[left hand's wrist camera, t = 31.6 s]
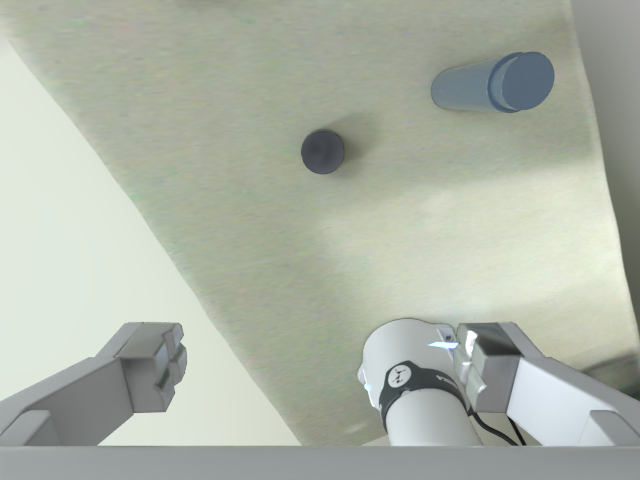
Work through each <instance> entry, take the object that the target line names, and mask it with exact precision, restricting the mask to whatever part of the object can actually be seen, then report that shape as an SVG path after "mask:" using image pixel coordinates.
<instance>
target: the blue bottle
mask: <svg viewBox="0 0 640 480" xmlns="http://www.w3.org/2000/svg"><path fill="white" fill-rule="evenodd" d="M553 83H554V69H553V66H552V64H551V62H550V60H549V59H548V58H547V57H546V56H545V55H543V54H541V53H538V52H526V53H522V52H517V53H512V54H508V55H504V56H500V57H496V58H492V59H488V60H484V61H480V62H476V63H472V64H468V65H464V66H460V67H456V68H452V69H448V70H445V71H443V72H441V73H440V74H439V75H438V76H437V77H436V78H435V80H434V82H433V84H432V88H431V96H432V99H433V101H434V103H435V104H436V105H437V106H438V107H440V108H443V109H451V110H467V111H483V112H499V113H514V112H518V111H521V110H528V109H531V108H534V107H536V106H537V105H539V104H540V103H541V102H542V101H544V100H545V98H546V97H547V96H548V94H549V93H550V91H551V89H552V86H553Z"/></svg>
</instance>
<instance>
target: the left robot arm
mask: <svg viewBox="0 0 640 480" xmlns="http://www.w3.org/2000/svg"><path fill="white" fill-rule="evenodd" d="M183 336H184V334H183V329H182V325H181V324H179V323H161V322H128V323H125V324H124V325H123V326H122V327H121V328H120V329H119V330H118V331H117V332H116V334H115V335H114V336H113V337H112V338H111V339H110V340H109V341H108V343H107V344H106V345H105V346H104V347H103V348H102V349H101V350H100V352H99V353H98V354H97V355H96V356H95V357H91V358H87V359H85V360H83V361H81V362H79V363H77V364H75V365H72V366H70V367H68V368H67V369H64V370H62V371H60V372H58V373H56V374H54V375H52V376H50V377H48V378H46V379H44V380H42V381H40V382H38V383H36V384H34V385H32V386H30V387H28V388H26V389H24V390H22V391H20V392H18V393H16V394H14V395H12V396H10V397H8V398H6V399H4V400H2V401H0V480H640V401H638V400H636V399H634V398H632V397H630V396H628V395H626V394H624V393H622V392H620V391H618V390H616V389H614V388H612V387H610V386H608V385H606V384H604V383H602V382H600V381H598V380H596V379H594V378H592V377H590V376H588V375H586V374H584V373H582V372H580V371H578V370H575V369H573V368H571V367H569V366H567V365H565V364H563V363H561V362H559V361H557V360H555V359H553V358H551V357H545V356H544V355H543V354H542V353H541V352H540V350H539V349H538V348H537V347H536V346H535V345H534V344H533V343H532V341H531V340H530V339H529V338H528V337H527V336H526V335H525V334H524V332H523V331H522V330H521V329H520V328H519V327H518V326H517V325H516V324H515V323H513V322H494V323H460V324H459V326H458V328H457V334H456V336H457V338H458V339H459V341H460V343H458V342H457V339H456V337H455V334H454V331H453V329H452V327H451V326H450V325H448V324H430V323H427V322H424V321H420V320H416V319H399V320H395V321H391V322H389V323H386V324H384V325H382V326H381V327H379V328H378V329H376V330H375V331H374V332H373V333H372V334H371V335H370V337H369V338H368V339H367V341H366V343H365V346H364V349H363V362H362V365H361V367H360V368H359V370H358V373H357V376H358V379H359V381H360V382H361V383H362V384H364V385H365V389H366V390H368V393H369V397H370V401H371V404H372V406H373V407H376V408H377V409H378V410H379V411H380V416H381V420H382V423H383V426H384V428H385V431H386V432H387V434H388V436H389V441H390V446H97V445H98V444H99V443H100V442H102V441H103V440H104V439H105V438H106V437H108V436H109V435H110V434H111V433H112V432H113V431H115V430H116V429H117V428H118V427H119V426H121V425H122V424H123V423H124V422H125V421H127V420H128V419H129V418H130V417H131V416H133V415H134V413H150V412H166V410H167V408H168V406H169V404H170V402H171V400H172V398H173V396H174V394H175V390H174V386H175V385H176V384H178V383H179V382H181V380H182V378H183V376H184V374H185V370H186V365H187V352H186V348H185V347H184V346H183V345H182V344H181V343H180V341H181V339H182V338H183ZM447 336H449V337H448V338H446V337H447ZM476 412H490V413H505V414H506V416H507V417H508V419H509V421H510V423H511V425H512V427H513V429H514V431H515V433H516V435H517V437H518V438H519V440H520V442H521V444H522V446H519V445H518V444H516V443H515V442H514V441H513V440H512V439H510V438H509V437H508V436H506V435H505V434H503V433H501V432H500V431H497V430H495V429H493V428H491V427H489V426H488V425H486V424H485V423H484V422H483V421H482V420H481V419H480V418H479V416H478V414H477V413H476ZM471 415H473V417H474V418H475V420H476V421H477V422H478V424H479V425H480V426H481V427H483V428H484V429H485V430H487V431H489V432H491V433H493V434H495V435H497V436H499V437H501V438H503V439H504V440H506V441H507V442H508V443H509V444H511V445H512V446H484V444H483V443H482V441H481V439H480V438H479V436H478V434H477V432H476V430H475V429H474V427H473V425H472V423H471V421H470V419H469V416H471ZM514 421H515V422H516V423H517V424H518V425H519V426H521V427H522V428H523V429H524V430H525V431H527V432H528V433H529V434H530V435H531V436H533V437H534V438H535V439H536V440H537V441H539V442H540V443H541V444H542V445H543V446H527V444H526V443H525V441H524V439H523V437H522V435H521V434H520V432H519V430H518V428H517V426H516V424H515V422H514Z"/></svg>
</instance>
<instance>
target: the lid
mask: <svg viewBox="0 0 640 480" xmlns="http://www.w3.org/2000/svg"><path fill="white" fill-rule="evenodd" d="M301 155H302V160H303V162H304V164H305V165H306V167H307V168H308V169H310V170H311V171H312V172H315V173H318V174H328V173H331V172H333V171H335V170H336V169H337V168H338V167H339V166H340V164H341V163H342V161H343V158H344V147H343V144H342V142H341V140H340V138H339V137H338V136H337V135H336V134H335V133H334V132H332V131H330V130H327V129H319V130H315V131H313V132H311V133H310V134H309V135H308V136H307V137H306V139H305V140H304V143H303V145H302V149H301Z"/></svg>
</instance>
